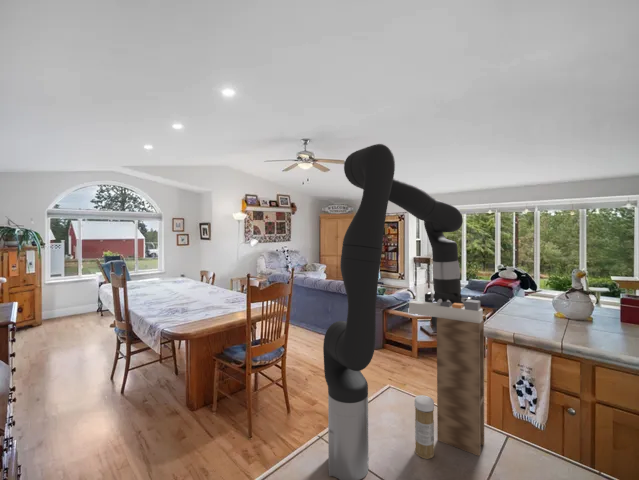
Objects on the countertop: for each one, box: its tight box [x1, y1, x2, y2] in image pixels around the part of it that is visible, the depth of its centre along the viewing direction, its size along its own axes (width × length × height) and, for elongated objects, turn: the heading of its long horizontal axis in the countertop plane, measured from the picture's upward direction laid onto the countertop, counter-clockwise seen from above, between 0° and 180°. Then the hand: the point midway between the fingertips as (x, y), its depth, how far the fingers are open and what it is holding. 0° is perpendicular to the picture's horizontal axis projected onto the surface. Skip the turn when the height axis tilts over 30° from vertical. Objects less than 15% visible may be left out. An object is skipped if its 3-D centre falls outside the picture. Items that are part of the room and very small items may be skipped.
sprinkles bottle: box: [414, 394, 435, 460], centre depth 77 cm, size 5×5×14 cm
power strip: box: [408, 299, 484, 323], centre depth 83 cm, size 18×4×5 cm, turn 52°
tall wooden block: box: [436, 317, 485, 457], centre depth 81 cm, size 10×6×32 cm, turn 52°
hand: (449, 329), depth 93 cm, fingers open, 8 cm apart
